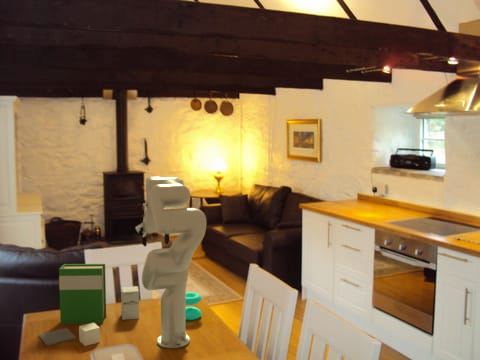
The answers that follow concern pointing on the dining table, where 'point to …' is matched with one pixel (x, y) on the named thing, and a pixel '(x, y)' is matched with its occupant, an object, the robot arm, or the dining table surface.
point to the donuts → (192, 299)
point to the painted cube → (89, 334)
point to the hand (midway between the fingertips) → (155, 244)
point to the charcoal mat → (56, 336)
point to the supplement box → (130, 302)
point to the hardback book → (82, 293)
